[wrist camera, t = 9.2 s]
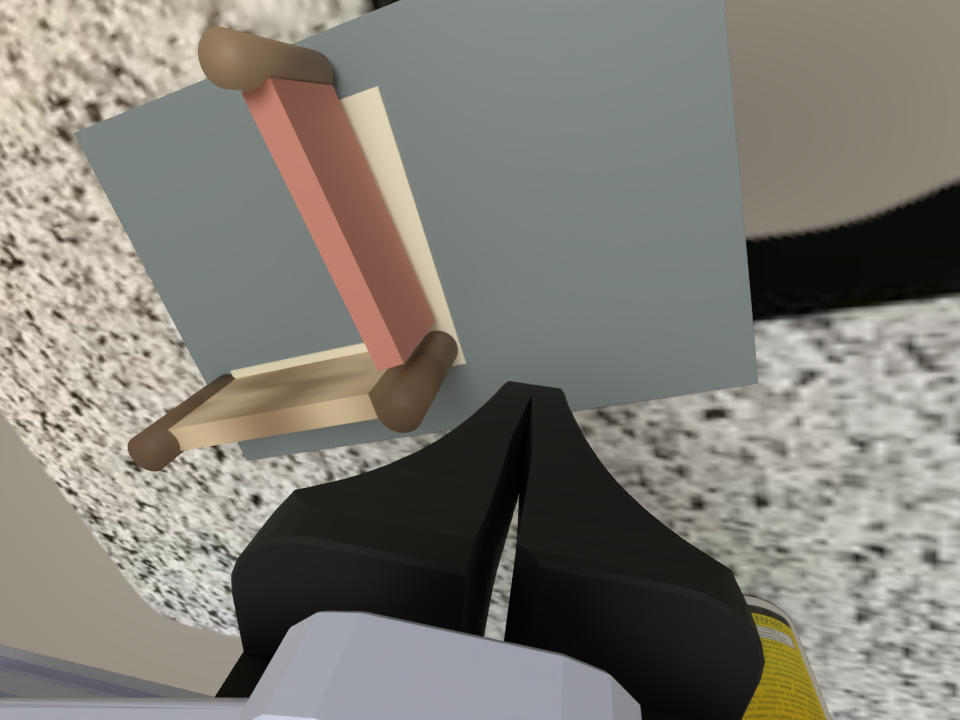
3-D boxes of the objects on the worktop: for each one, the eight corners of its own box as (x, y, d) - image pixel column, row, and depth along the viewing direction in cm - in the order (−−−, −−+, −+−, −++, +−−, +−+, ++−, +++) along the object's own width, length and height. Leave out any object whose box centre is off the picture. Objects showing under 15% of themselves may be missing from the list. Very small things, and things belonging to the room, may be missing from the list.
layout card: (251, 456, 27) (246, 461, 27) (81, 132, 21) (71, 133, 21) (755, 378, 20) (758, 384, 20) (710, -122, 15) (713, -129, 14)
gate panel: (440, 319, 21) (400, 374, 16) (409, 328, 21) (363, 385, 17) (321, 42, 17) (229, 16, 13) (287, 60, 18) (188, 41, 13)
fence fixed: (230, 401, 26) (141, 473, 21) (215, 373, 25) (120, 439, 20) (465, 356, 22) (429, 429, 17) (454, 322, 22) (413, 387, 17)
